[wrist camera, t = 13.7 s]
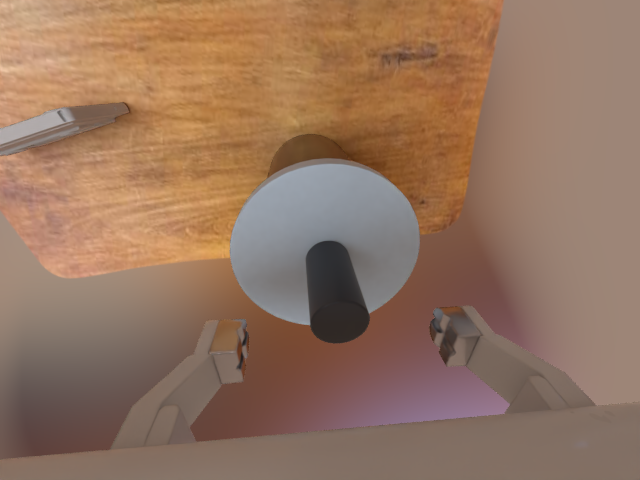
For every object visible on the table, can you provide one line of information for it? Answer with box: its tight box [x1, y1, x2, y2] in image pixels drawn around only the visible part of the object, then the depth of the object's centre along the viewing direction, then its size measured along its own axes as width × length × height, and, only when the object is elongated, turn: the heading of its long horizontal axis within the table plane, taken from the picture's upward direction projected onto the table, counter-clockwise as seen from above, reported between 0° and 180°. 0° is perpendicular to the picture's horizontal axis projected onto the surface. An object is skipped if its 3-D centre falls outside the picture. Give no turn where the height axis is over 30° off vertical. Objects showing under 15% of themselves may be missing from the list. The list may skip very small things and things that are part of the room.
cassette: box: [0, 103, 129, 156], centre depth 22 cm, size 12×2×8 cm, turn 106°
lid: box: [230, 158, 420, 343], centre depth 14 cm, size 11×11×6 cm
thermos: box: [267, 134, 351, 178], centre depth 23 cm, size 9×9×16 cm
